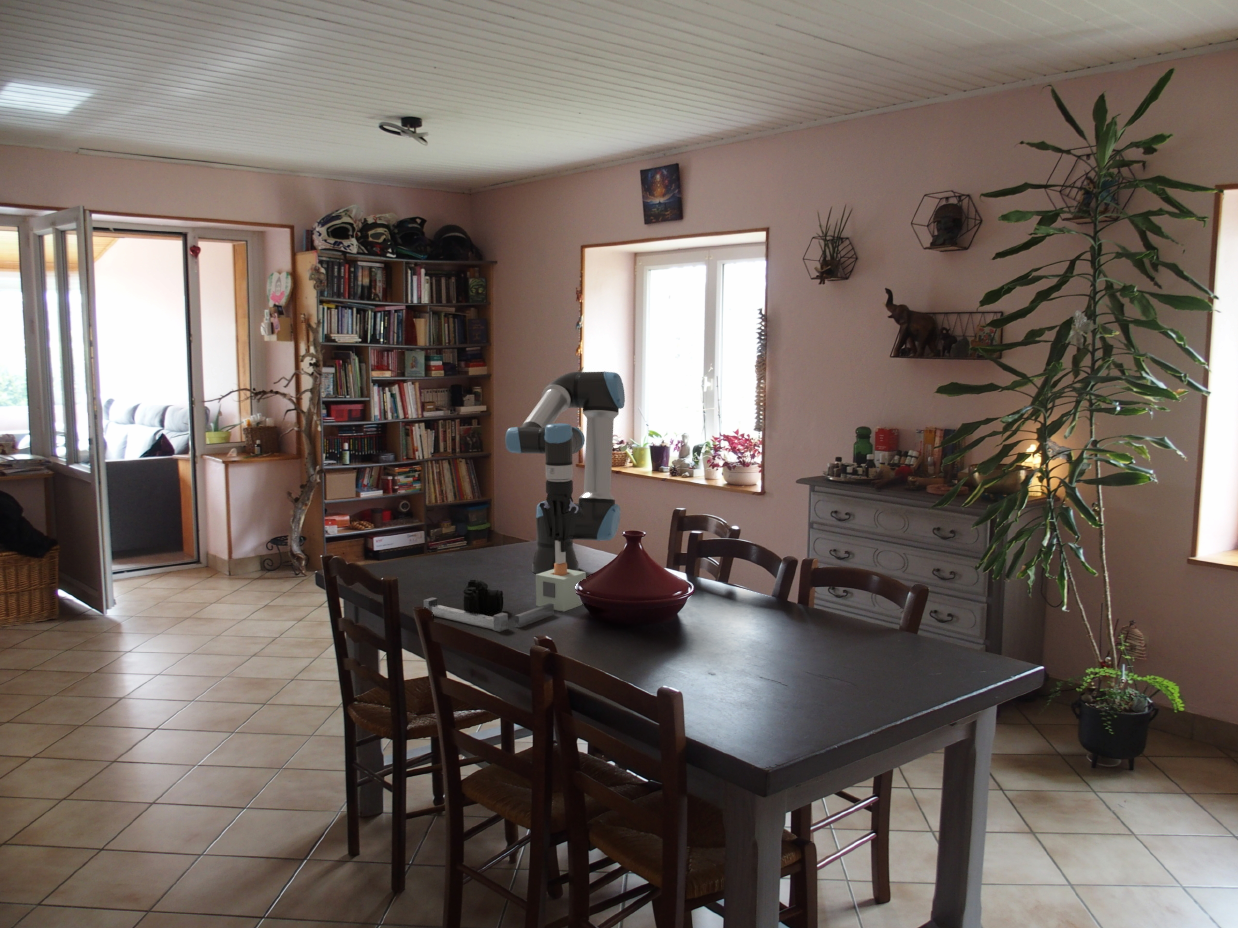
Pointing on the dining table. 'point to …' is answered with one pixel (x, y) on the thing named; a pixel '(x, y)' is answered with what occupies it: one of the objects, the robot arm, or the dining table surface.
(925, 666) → the dining table surface
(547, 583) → the cabinet
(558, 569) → the gauge button
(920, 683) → the dining table surface
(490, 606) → the film camera
